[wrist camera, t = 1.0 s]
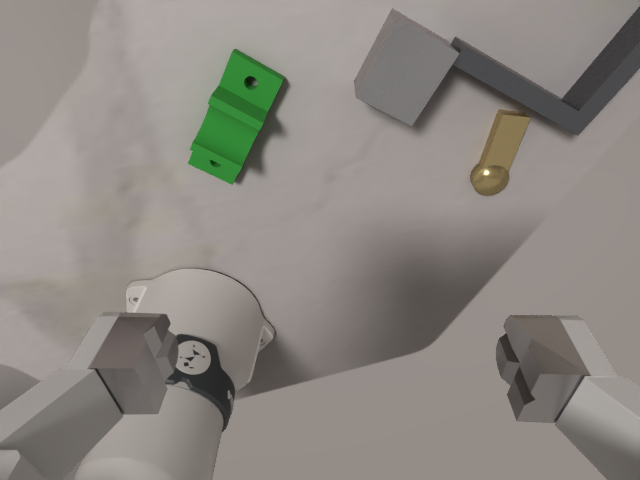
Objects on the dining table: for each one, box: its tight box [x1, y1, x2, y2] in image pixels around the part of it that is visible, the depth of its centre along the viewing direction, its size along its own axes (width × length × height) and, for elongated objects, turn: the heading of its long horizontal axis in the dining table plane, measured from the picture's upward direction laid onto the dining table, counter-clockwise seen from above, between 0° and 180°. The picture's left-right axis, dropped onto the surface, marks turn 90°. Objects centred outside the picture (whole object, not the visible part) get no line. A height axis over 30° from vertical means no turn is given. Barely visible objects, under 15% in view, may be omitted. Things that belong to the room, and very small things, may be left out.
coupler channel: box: [451, 7, 640, 135], centre depth 30 cm, size 12×12×3 cm
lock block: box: [354, 8, 460, 126], centre depth 32 cm, size 6×5×4 cm
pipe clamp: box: [188, 49, 284, 185], centre depth 35 cm, size 11×4×5 cm
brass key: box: [470, 110, 531, 196], centre depth 38 cm, size 8×3×1 cm, turn 174°
